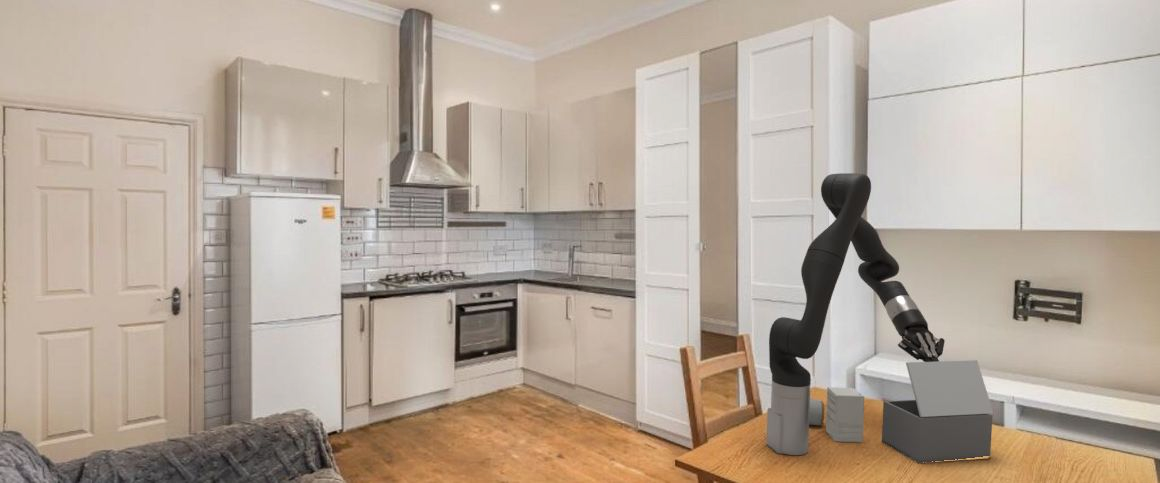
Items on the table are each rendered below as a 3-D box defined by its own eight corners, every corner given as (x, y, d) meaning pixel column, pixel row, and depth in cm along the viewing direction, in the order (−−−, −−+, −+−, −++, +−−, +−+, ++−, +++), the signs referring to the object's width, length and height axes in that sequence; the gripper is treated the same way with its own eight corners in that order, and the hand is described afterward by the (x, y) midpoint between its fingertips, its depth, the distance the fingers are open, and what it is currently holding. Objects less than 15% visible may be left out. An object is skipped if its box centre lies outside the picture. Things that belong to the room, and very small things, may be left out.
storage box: (918, 463, 138) (920, 418, 137) (881, 442, 150) (883, 401, 150) (990, 458, 141) (992, 415, 140) (947, 438, 154) (949, 398, 153)
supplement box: (852, 432, 157) (854, 387, 156) (863, 443, 149) (865, 396, 149) (824, 431, 158) (826, 386, 157) (834, 441, 150) (836, 394, 149)
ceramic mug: (824, 429, 158) (825, 402, 158) (793, 426, 161) (794, 399, 160) (819, 417, 169) (820, 391, 168) (790, 414, 171) (791, 389, 170)
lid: (920, 417, 137) (921, 416, 137) (905, 362, 142) (907, 362, 142) (991, 413, 141) (993, 413, 140) (975, 360, 145) (977, 360, 145)
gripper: (891, 308, 152) (924, 365, 141) (934, 307, 154) (970, 364, 143) (876, 324, 158) (907, 380, 146) (919, 323, 160) (952, 378, 148)
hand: (938, 372), depth 144 cm, fingers closed
